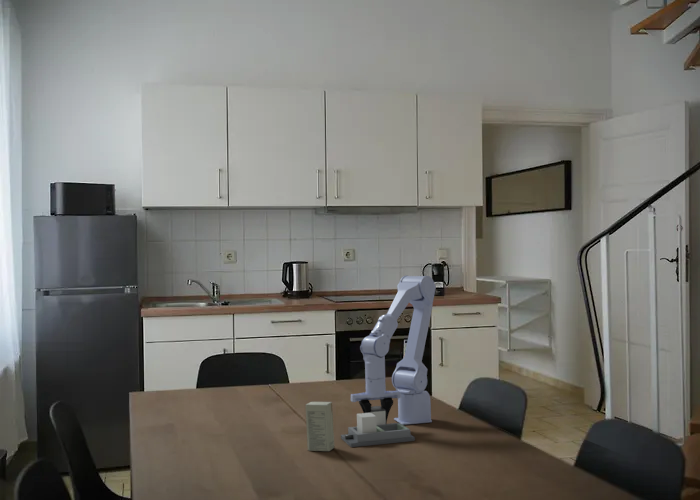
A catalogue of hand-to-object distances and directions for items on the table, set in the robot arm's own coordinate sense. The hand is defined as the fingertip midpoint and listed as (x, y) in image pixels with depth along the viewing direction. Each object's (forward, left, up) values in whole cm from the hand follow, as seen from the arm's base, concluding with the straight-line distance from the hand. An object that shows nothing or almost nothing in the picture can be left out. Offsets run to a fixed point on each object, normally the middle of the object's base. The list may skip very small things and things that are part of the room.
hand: (376, 424), depth 218 cm
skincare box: (+20, +14, -2) cm, 24 cm away
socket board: (+3, +10, -2) cm, 11 cm away
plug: (0, 0, -2) cm, 2 cm away
